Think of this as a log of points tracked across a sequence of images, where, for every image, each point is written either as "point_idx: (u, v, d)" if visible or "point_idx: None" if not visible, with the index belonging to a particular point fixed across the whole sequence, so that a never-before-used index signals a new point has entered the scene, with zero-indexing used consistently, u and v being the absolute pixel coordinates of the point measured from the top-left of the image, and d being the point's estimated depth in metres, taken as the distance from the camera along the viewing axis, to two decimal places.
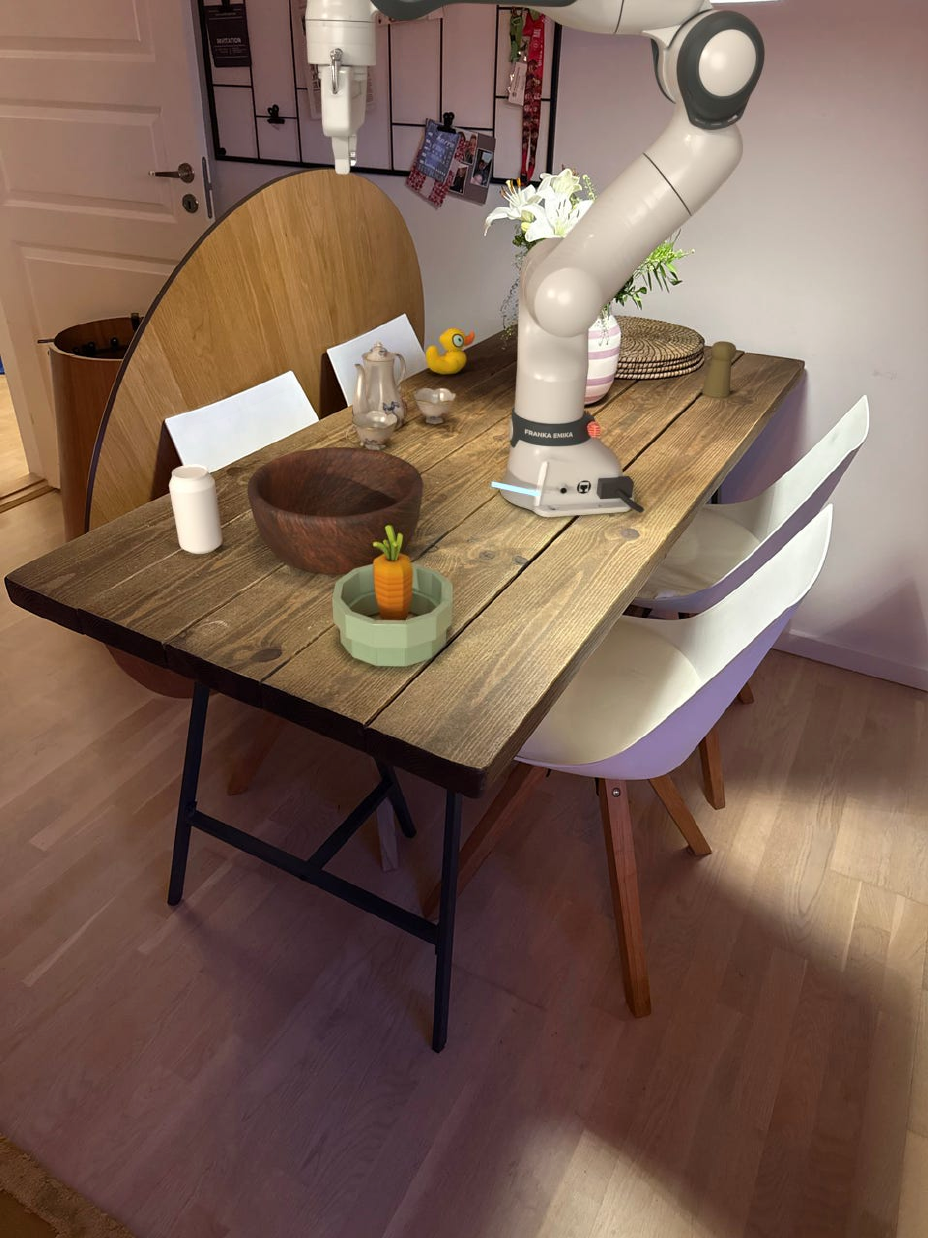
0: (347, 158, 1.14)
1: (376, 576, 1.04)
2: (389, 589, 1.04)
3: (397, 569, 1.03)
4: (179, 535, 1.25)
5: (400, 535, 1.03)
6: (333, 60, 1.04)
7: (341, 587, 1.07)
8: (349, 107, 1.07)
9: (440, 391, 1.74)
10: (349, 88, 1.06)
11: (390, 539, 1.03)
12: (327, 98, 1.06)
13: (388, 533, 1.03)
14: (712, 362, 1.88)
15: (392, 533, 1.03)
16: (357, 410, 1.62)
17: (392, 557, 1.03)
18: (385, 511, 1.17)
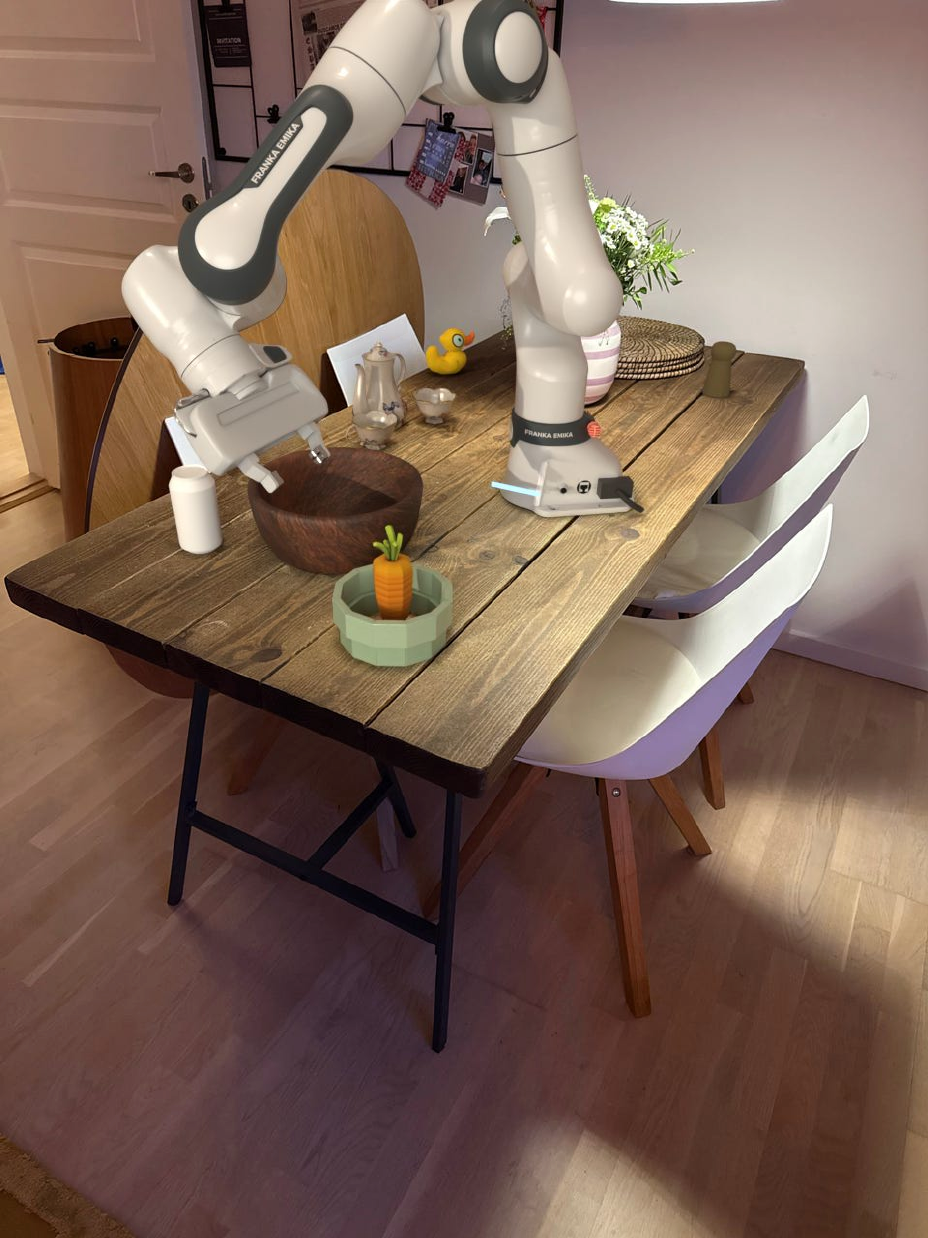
0: (265, 474, 0.99)
1: (376, 576, 1.04)
2: (389, 589, 1.04)
3: (397, 569, 1.03)
4: (179, 535, 1.25)
5: (400, 535, 1.03)
6: (174, 412, 0.95)
7: (341, 587, 1.07)
8: (211, 439, 0.95)
9: (440, 391, 1.74)
10: (203, 422, 0.95)
11: (390, 539, 1.03)
12: (194, 445, 0.96)
13: (388, 533, 1.03)
14: (712, 362, 1.88)
15: (392, 533, 1.03)
16: (357, 410, 1.62)
17: (392, 557, 1.03)
18: (385, 511, 1.17)
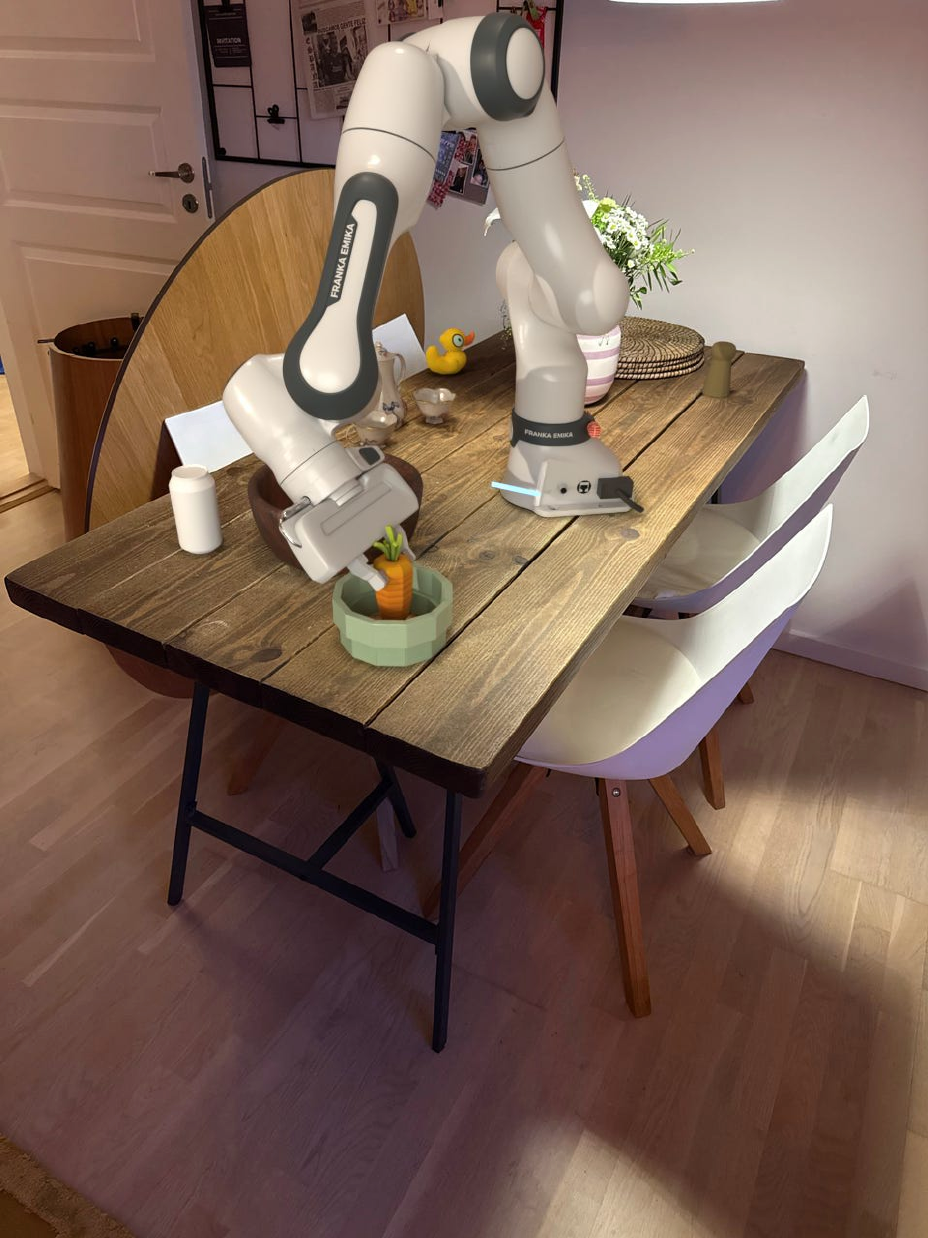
0: (374, 574, 1.02)
1: None
2: (389, 589, 1.04)
3: (397, 569, 1.03)
4: (179, 535, 1.25)
5: (400, 535, 1.03)
6: (279, 524, 0.96)
7: (341, 587, 1.07)
8: (317, 550, 0.96)
9: (440, 391, 1.74)
10: (309, 534, 0.96)
11: (390, 539, 1.03)
12: (299, 555, 0.97)
13: (388, 533, 1.03)
14: (712, 362, 1.88)
15: (392, 533, 1.03)
16: None
17: (392, 557, 1.03)
18: None
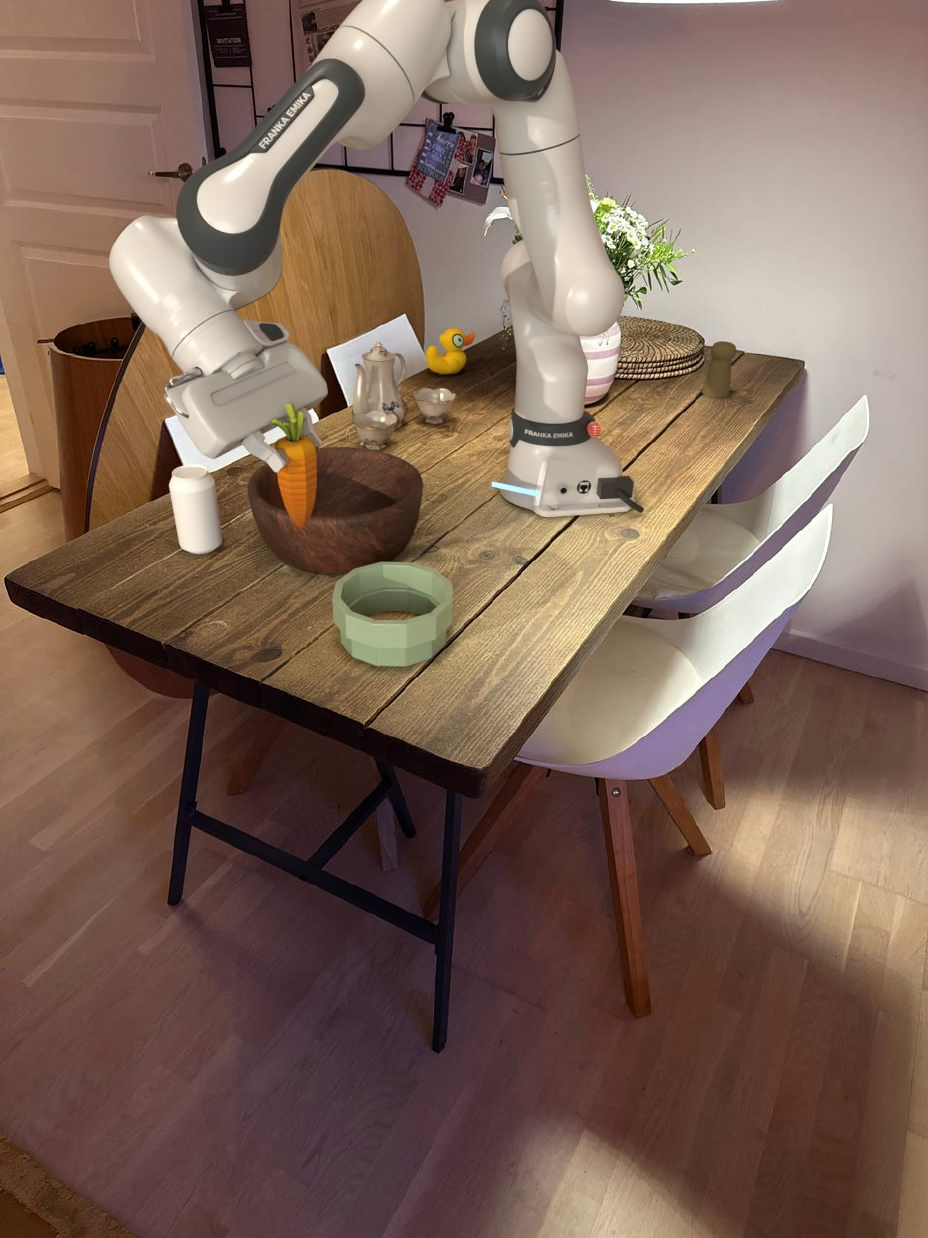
0: (271, 453, 0.95)
1: None
2: (290, 472, 0.98)
3: (297, 449, 0.97)
4: (179, 535, 1.25)
5: (301, 413, 0.97)
6: (164, 391, 0.90)
7: (341, 587, 1.07)
8: (205, 419, 0.90)
9: (440, 391, 1.74)
10: (196, 402, 0.90)
11: (291, 418, 0.97)
12: (187, 427, 0.91)
13: (289, 411, 0.97)
14: (712, 362, 1.88)
15: (293, 411, 0.97)
16: (357, 410, 1.62)
17: (293, 437, 0.97)
18: (385, 511, 1.17)
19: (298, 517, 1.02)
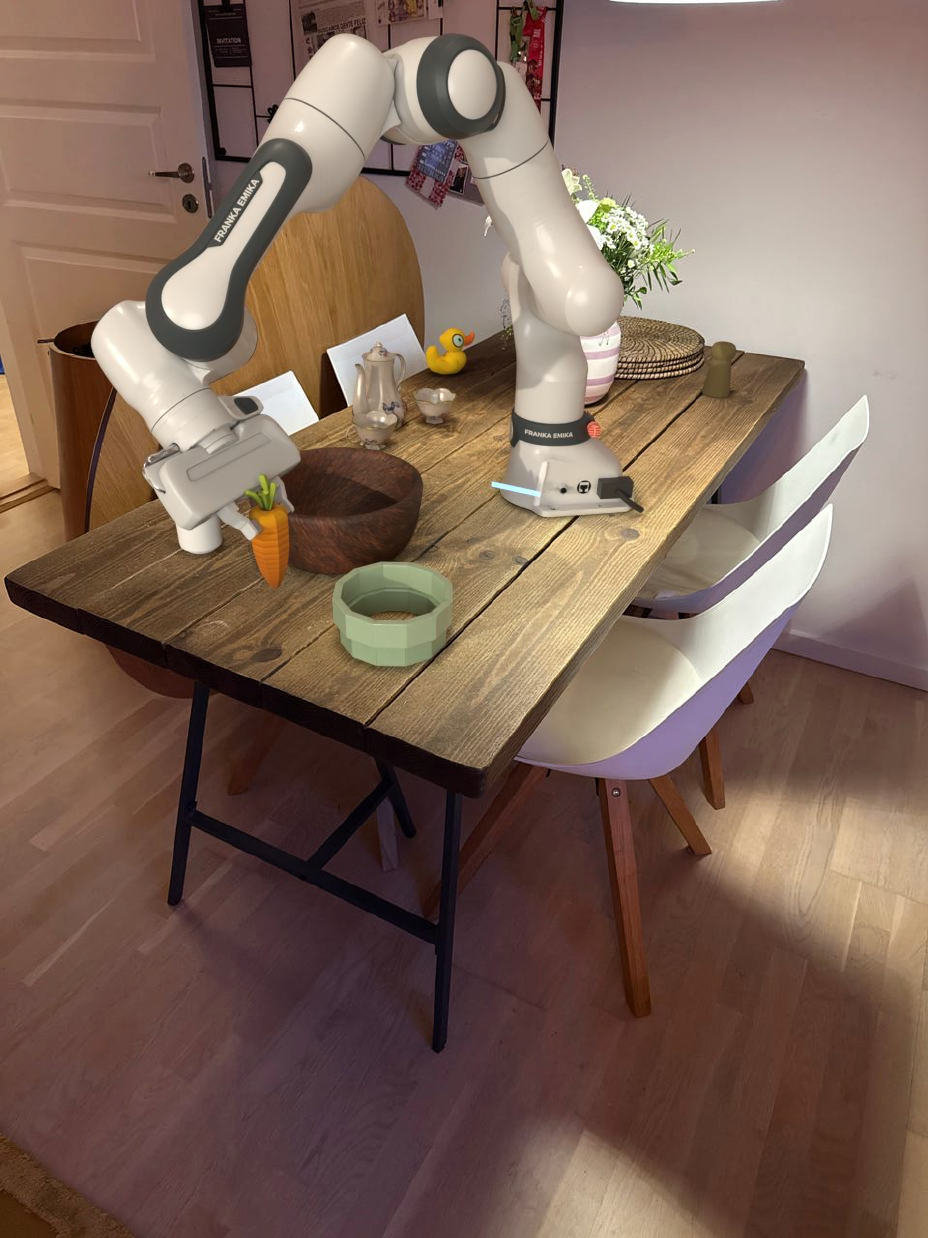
0: (245, 522, 1.01)
1: None
2: (263, 539, 1.03)
3: (269, 518, 1.02)
4: (179, 535, 1.25)
5: (273, 484, 1.02)
6: (143, 469, 0.95)
7: (341, 587, 1.07)
8: (180, 495, 0.95)
9: (440, 391, 1.74)
10: (172, 479, 0.95)
11: (264, 488, 1.03)
12: (164, 501, 0.97)
13: (261, 482, 1.03)
14: (712, 362, 1.88)
15: (265, 482, 1.03)
16: (357, 410, 1.62)
17: (265, 506, 1.03)
18: (385, 511, 1.17)
19: (272, 579, 1.08)
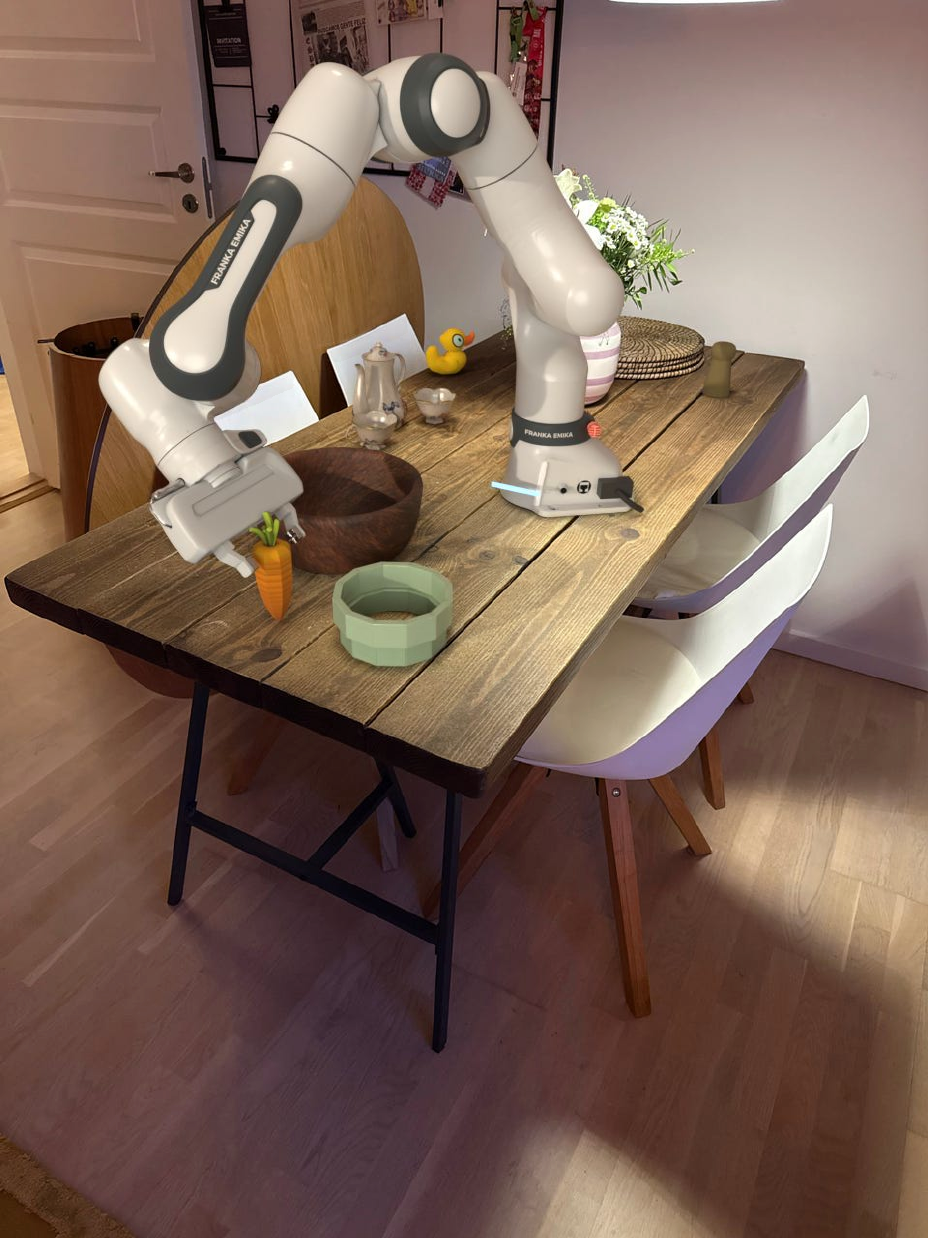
0: (240, 561, 1.02)
1: (254, 561, 1.06)
2: (267, 574, 1.06)
3: (273, 554, 1.05)
4: None
5: (276, 521, 1.05)
6: (149, 505, 0.98)
7: (341, 587, 1.07)
8: (186, 530, 0.98)
9: (440, 391, 1.74)
10: (178, 514, 0.98)
11: (267, 525, 1.06)
12: (170, 535, 0.99)
13: (265, 519, 1.05)
14: (712, 362, 1.88)
15: (269, 519, 1.05)
16: (357, 410, 1.62)
17: (269, 542, 1.05)
18: (385, 511, 1.17)
19: (275, 612, 1.10)
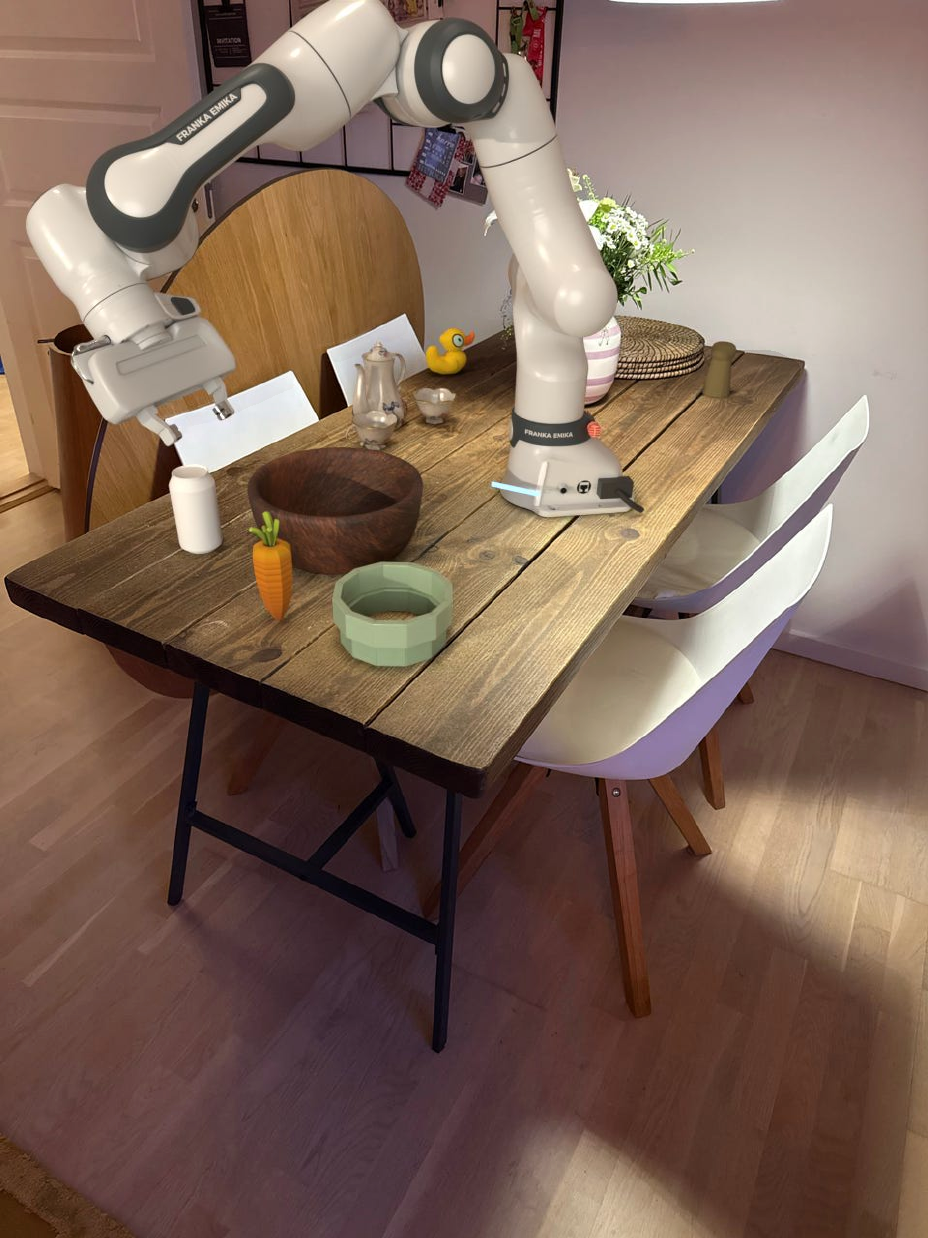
0: (163, 427, 1.00)
1: (254, 561, 1.06)
2: (267, 574, 1.06)
3: (273, 554, 1.05)
4: (179, 535, 1.25)
5: (276, 521, 1.05)
6: (71, 357, 0.95)
7: (341, 587, 1.07)
8: (108, 387, 0.95)
9: (440, 391, 1.74)
10: (101, 370, 0.95)
11: (267, 525, 1.06)
12: (91, 392, 0.97)
13: (265, 519, 1.05)
14: (712, 362, 1.88)
15: (269, 519, 1.05)
16: (357, 410, 1.62)
17: (269, 542, 1.05)
18: (385, 511, 1.17)
19: (275, 612, 1.10)
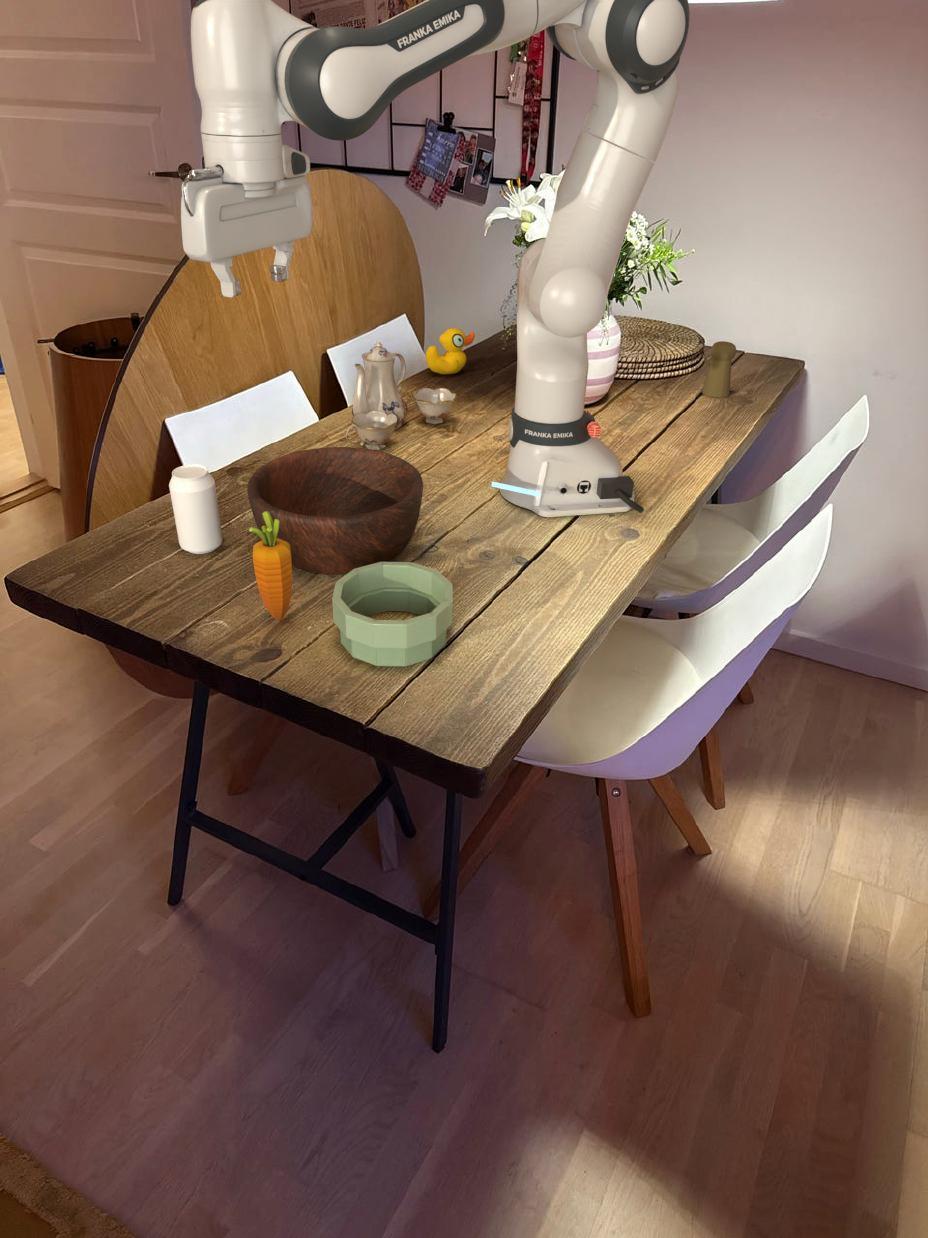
0: (230, 281, 1.01)
1: (254, 561, 1.06)
2: (267, 574, 1.06)
3: (273, 554, 1.05)
4: (179, 535, 1.25)
5: (276, 521, 1.05)
6: (185, 181, 0.92)
7: (341, 587, 1.07)
8: (205, 232, 0.95)
9: (440, 391, 1.74)
10: (206, 211, 0.94)
11: (267, 525, 1.06)
12: (185, 220, 0.95)
13: (265, 519, 1.05)
14: (712, 362, 1.88)
15: (269, 519, 1.05)
16: (357, 410, 1.62)
17: (269, 542, 1.05)
18: (385, 511, 1.17)
19: (275, 612, 1.10)
